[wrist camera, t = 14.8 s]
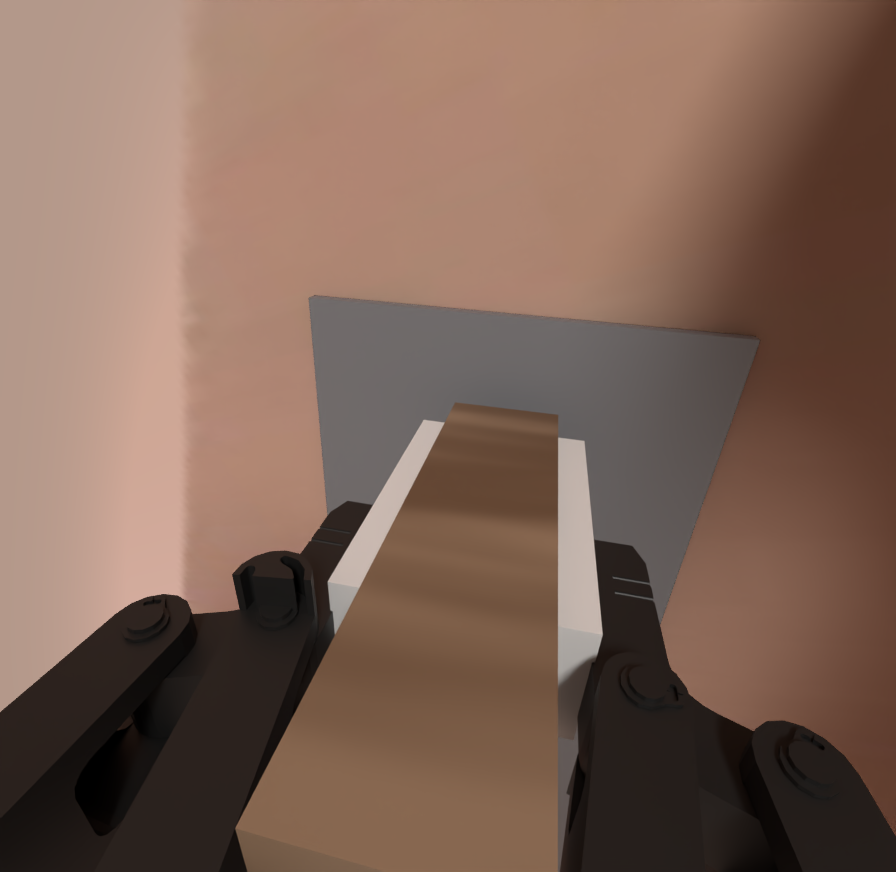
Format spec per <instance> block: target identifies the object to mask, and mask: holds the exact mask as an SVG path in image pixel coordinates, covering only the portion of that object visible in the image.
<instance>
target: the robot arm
mask: <svg viewBox="0 0 896 872" xmlns="http://www.w3.org/2000/svg"><path fill="white" fill-rule="evenodd" d="M443 425H444V422H437V421H429V420H423V422H422V424H421V425H420V427H419V429H418V430H417V432H416V434H415V435H414V437H413V439H412V440H411V442H410V444H409V446H408V447H407V449H406V451H405V452H404V454H403V456H402V457H401V459H400V461H399V462H398V464H397V466H396V467H395V469H394V471H393V472H392V474H391V476H390V478H389V479H388V481H387V483H386V484H385V486H384V488H383V489H382V491H381V493H380V494H379V496H378V498H377V499H376V501H375V503H374V505H371V504H365V503H359V502H353V501H346V502H345V503H343V504H342V505H340V506H339V507H337V508H336V509H334V510H333V511H331V512H330V513H329V515H328V516H327V518H326V519H325V520H324V522H323V523H322V525H321V526H320V529H318V530H317V532H316V533H315V534H314V536H313V537H312V540H311V541H309V543H308V544H307V546H306V547H305V548H304V550H303V551H302V553H301V554H298V553H294V552H289V551H272V552H267V553H264V554H261V555H257V556H255V557H253V558H251V559H250V560H248V561H246V562H245V563H243V564H241V566H240V567H239V568H238V569H237V570H236V571H235V572H234V573H233V574H232V576H233V580H234V585H235V590H236V594H237V599H238V604H239V608H240V610H234V611H228V612H216V613H203V614H192V612H191V609H190V607H189V604H188V602H187V601H186V600H184V599H182V598H181V597H179V596H176V595H167V594H162V595H156V596H150V597H146V598H144V599H141V600H139V601H136V602H134V603H132V604H130V605H128V606H127V607H125V608H124V609H122V610H121V611H119V612H118V613H116V614H115V615H114V616H113V617H112V618H110V619H109V620H108V621H107V622H106V623H104V624H103V625H102V626H101V627H100V628H99V629H97V630H96V631H95V632H94V633H93V634H92V635H91V636H89V637H88V638H87V639H86V640H85V641H83V642H82V643H81V644H80V645H79V646H77V647H76V648H75V649H74V650H73V651H72V652H70V653H69V654H68V655H67V656H66V657H65V658H63V659H62V660H61V661H60V662H59V663H58V664H56V665H55V666H54V667H53V668H52V669H50V671H48V672H47V673H46V674H45V675H43V676H42V677H41V678H40V679H39V680H38V681H36V682H35V683H34V684H33V685H32V686H31V687H29V688H28V689H27V690H26V691H25V692H23V693H22V694H21V695H20V696H19V697H18V698H16V699H15V700H14V701H13V702H12V703H11V704H9V705H8V706H7V707H6V708H5V709H4V710H2V711H1V712H0V872H247V868H246V865H245V861H244V858H243V854H242V851H241V847H240V844H239V840H238V837H237V833H236V830H235V828H236V826H237V824H238V822H239V820H240V818H241V816H242V814H243V812H244V810H245V809H246V807H247V805H248V803H249V801H250V799H251V797H252V795H253V793H254V791H255V789H256V787H257V785H258V783H259V781H260V779H261V778H262V776H263V774H264V772H265V770H266V768H267V766H268V764H269V762H270V760H271V758H272V756H273V754H274V752H275V750H276V748H277V747H278V745H279V743H280V741H281V739H282V737H283V735H284V733H285V731H286V729H287V727H288V725H289V723H290V721H291V719H292V717H293V716H294V714H295V712H296V710H297V708H298V706H299V704H300V702H301V700H302V698H303V696H304V694H305V692H306V690H307V688H308V686H309V685H310V683H311V681H312V679H313V677H314V675H315V673H316V671H317V669H318V667H319V665H320V663H321V661H322V659H323V657H324V655H325V654H326V652H327V650H328V648H329V646H330V644H331V642H332V640H333V638H334V636H335V634H336V632H337V630H338V628H339V626H340V624H341V623H342V621H343V619H344V617H345V615H346V613H347V611H348V609H349V607H350V605H351V603H352V601H353V599H354V597H355V595H356V593H357V592H358V590H359V588H360V586H361V584H362V582H363V580H364V578H365V576H366V574H367V572H368V570H369V568H370V566H371V564H372V562H373V560H374V559H375V557H376V555H377V553H378V551H379V549H380V547H381V545H382V543H383V541H384V539H385V537H386V535H387V533H388V531H389V529H390V528H391V526H392V524H393V522H394V520H395V518H396V516H397V514H398V512H399V510H400V508H401V506H402V504H403V502H404V500H405V498H406V497H407V495H408V493H409V491H410V489H411V487H412V485H413V483H414V481H415V479H416V477H417V475H418V473H419V471H420V469H421V467H422V466H423V464H424V462H425V460H426V458H427V456H428V454H429V452H430V450H431V448H432V446H433V444H434V442H435V440H436V438H437V436H438V435H439V433H440V431H441V429H442V427H443ZM653 598H654V597H653V593H652V588H651V586H650V580H649V575H648V571H647V566H646V563H645V562H644V560H643V559H642V558H641V556H640V555H639V554H638V553H637V551H636V550H635V549H634V547H633V546H631V545H625V544H618V543H612V542H606V541H600V540H594V537H593V527H592V516H591V505H590V495H589V484H588V474H587V463H586V452H585V442H584V441H581V440H573V439H566V438H558V737H561V738H565V739H570V740H574V736H575V733H576V729H577V726H578V755H577V758H576V762H575V765H574V768H573V772H572V775H571V779H570V782H569V785H568V789H567V792H566V794H568V795H570V798H569V805H568V813H567V820H566V828H565V836H564V843H563V851H562V858H561V866H560V872H896V836H895V835H894V833H893V831H892V829H891V828H890V826H889V824H888V823H887V821H886V819H885V818H884V816H883V814H882V813H881V811H880V809H879V807H878V806H877V804H876V802H875V801H874V799H873V797H872V796H871V794H870V792H869V791H868V789H867V787H866V785H865V784H864V782H863V780H862V779H861V777H860V775H859V774H858V773H857V772H856V770H855V769H854V768H853V766H852V765H851V764H850V762H849V761H848V760H847V759H846V757H845V756H844V755H843V754H842V753H841V752H839V751H838V750H837V749H836V748H835V747H834V746H833V745H831V744H830V743H829V742H828V741H827V740H826V739H824V738H823V737H821V736H819V735H817V734H816V733H814V732H812V731H810V730H809V729H807V728H805V727H803V726H800V725H797V724H793V723H790V722H786V721H766V722H765V723H764V724H762V725H761V726H759V727H758V728H756V729H755V731H752V730H750V729H748V728H746V727H744V726H742V725H739V724H737V723H735V722H733V721H731V720H729V719H727V718H725V717H723V716H721V715H719V714H717V713H715V712H713V711H712V710H710V709H708V708H707V707H705V706H703V705H702V704H700V703H699V702H698V701H697V700H695V699H694V698H693V697H692V696H690V695H689V694H688V691H687V688H686V687H685V685H684V684H683V683H682V681H681V680H680V678H679V677H678V676H677V674H676V673H674V672H673V671H672V670H671V668H670V665H669V662H668V659H667V654H666V650H665V645H664V641H663V637H662V632H661V628H660V623H659V619H658V615H657V610H656V606H655V602H653Z"/></svg>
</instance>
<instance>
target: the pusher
mask: <svg viewBox="0 0 896 872" xmlns="http://www.w3.org/2000/svg"><path fill="white" fill-rule="evenodd" d="M235 830H236V833H237V837H238V840H239V844H240V847H241V851H242V854H243V858H244V861H245V865H246V868H247V872H558V415H556V414H548V413H539V412H531V411H523V410H515V409H506V408H498V407H490V406H481V405H473V404H465V403H457V402H455V404H454V405H453V407H452V409H451V411H450V413H449V415H448V417H447V419H446V421H445V423H444V425H443V427H442V429H441V431H440V433H439V435H438V436H437V438H436V440H435V442H434V444H433V446H432V448H431V450H430V452H429V454H428V456H427V458H426V460H425V462H424V464H423V466H422V467H421V469H420V471H419V473H418V475H417V477H416V479H415V481H414V483H413V485H412V487H411V489H410V491H409V493H408V495H407V497H406V498H405V500H404V502H403V504H402V506H401V508H400V510H399V512H398V514H397V516H396V518H395V520H394V522H393V524H392V526H391V528H390V529H389V531H388V533H387V535H386V537H385V539H384V541H383V543H382V545H381V547H380V549H379V551H378V553H377V555H376V557H375V559H374V560H373V562H372V564H371V566H370V568H369V570H368V572H367V574H366V576H365V578H364V580H363V582H362V584H361V586H360V588H359V590H358V592H357V593H356V595H355V597H354V599H353V601H352V603H351V605H350V607H349V609H348V611H347V613H346V615H345V617H344V619H343V621H342V623H341V624H340V626H339V628H338V630H337V632H336V634H335V636H334V638H333V640H332V642H331V644H330V646H329V648H328V650H327V652H326V654H325V655H324V657H323V659H322V661H321V663H320V665H319V667H318V669H317V671H316V673H315V675H314V677H313V679H312V681H311V683H310V685H309V686H308V688H307V690H306V692H305V694H304V696H303V698H302V700H301V702H300V704H299V706H298V708H297V710H296V712H295V714H294V716H293V717H292V719H291V721H290V723H289V725H288V727H287V729H286V731H285V733H284V735H283V737H282V739H281V741H280V743H279V745H278V747H277V748H276V750H275V752H274V754H273V756H272V758H271V760H270V762H269V764H268V766H267V768H266V770H265V772H264V774H263V776H262V778H261V779H260V781H259V783H258V785H257V787H256V789H255V791H254V793H253V795H252V797H251V799H250V801H249V803H248V805H247V807H246V809H245V810H244V812H243V814H242V816H241V818H240V820H239V822H238V824H237V826H236V828H235Z"/></svg>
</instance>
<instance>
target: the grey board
mask: <svg viewBox="0 0 896 872" xmlns="http://www.w3.org/2000/svg"><path fill="white" fill-rule="evenodd" d="M309 308H310V319H311V331H312V342H313V354H314V365H315V377H316V388H317V400H318V411H319V423H320V434H321V446H322V457H323V469H324V480H325V492H326V503H327V515H329V513H330V512H331V511H333V510H334V509H336V508H337V507H339V506H340V505H342V504H343V503H345V502H346V501H353V502H359V503H365V504H371V505H374V503H375V501H376V499H377V498H378V496H379V494H380V493H381V491H382V489H383V488H384V486H385V484H386V483H387V481H388V479H389V478H390V476H391V474H392V472H393V471H394V469H395V467H396V466H397V464H398V462H399V461H400V459H401V457H402V456H403V454H404V452H405V451H406V449H407V447H408V446H409V444H410V442H411V440H412V439H413V437H414V435H415V434H416V432H417V430H418V429H419V427H420V425H421V424H422V422H423V420H429V421H437V422H444V423H445V421H446V419H447V417H448V415H449V413H450V411H451V409H452V407H453V405H454V404H455V402H457V403H465V404H473V405H481V406H490V407H498V408H506V409H515V410H523V411H531V412H539V413H548V414H556V415H558V438H566V439H573V440H581V441H584V442H585V452H586V463H587V474H588V484H589V495H590V505H591V516H592V527H593V537H594V540H600V541H606V542H612V543H618V544H625V545H631V546H633V547H634V549H635V550H636V551H637V553H638V554H639V555H640V556H641V558H642V559H643V560H644V562H645V563H646V566H647V571H648V575H649V580H650V586H651V588H652V593H653V597H654V598H653V602H655V606H656V610H657V615H658V619H659V623H660V624H661V621H662V618H663V615H664V612H665V609H666V606H667V604H668V601H669V598H670V595H671V592H672V589H673V587H674V584H675V581H676V578H677V575H678V572H679V570H680V567H681V564H682V561H683V558H684V555H685V553H686V550H687V547H688V544H689V541H690V538H691V536H692V533H693V530H694V527H695V524H696V521H697V519H698V516H699V513H700V510H701V507H702V504H703V502H704V499H705V496H706V493H707V490H708V487H709V484H710V482H711V479H712V476H713V473H714V470H715V467H716V465H717V462H718V459H719V456H720V453H721V450H722V448H723V445H724V442H725V439H726V436H727V433H728V431H729V428H730V425H731V422H732V419H733V416H734V414H735V411H736V408H737V405H738V402H739V399H740V397H741V394H742V391H743V388H744V385H745V382H746V379H747V377H748V374H749V371H750V368H751V365H752V362H753V360H754V357H755V354H756V351H757V348H758V345H759V343H760V339H758V338H757V337H756V336H748V335H737V334H726V333H715V332H704V331H694V330H683V329H672V328H661V327H651V326H640V325H629V324H618V323H607V322H597V321H586V320H575V319H564V318H553V317H543V316H532V315H521V314H510V313H500V312H489V311H478V310H467V309H456V308H446V307H435V306H424V305H413V304H402V303H392V302H381V301H370V300H359V299H349V298H338V297H327V296H316V295H314V296H312V297H309ZM577 755H578V726H577V729H576V733H575V736H574V740H570V739H565V738H561V737H558V872H560V866H561V858H562V851H563V843H564V836H565V828H566V820H567V813H568V805H569V798H570V795H568V794H566V792H567V789H568V785H569V782H570V779H571V775H572V772H573V768H574V765H575V762H576V758H577Z"/></svg>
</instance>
